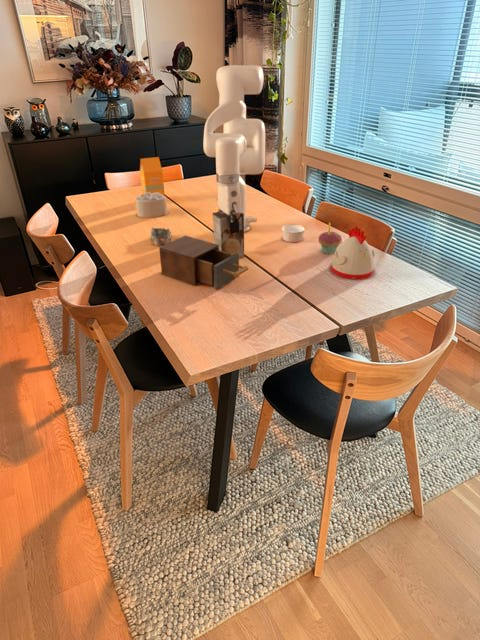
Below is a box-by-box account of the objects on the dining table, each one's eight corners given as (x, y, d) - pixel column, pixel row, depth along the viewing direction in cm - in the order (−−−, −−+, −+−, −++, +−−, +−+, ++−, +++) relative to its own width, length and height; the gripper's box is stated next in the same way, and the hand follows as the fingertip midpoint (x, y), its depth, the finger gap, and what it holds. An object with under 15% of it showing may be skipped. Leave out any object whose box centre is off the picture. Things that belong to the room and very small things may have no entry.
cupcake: (335, 257, 163) (338, 225, 157) (313, 252, 167) (315, 220, 161) (343, 249, 170) (347, 218, 163) (322, 244, 173) (325, 214, 167)
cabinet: (219, 271, 154) (218, 244, 149) (195, 285, 146) (193, 257, 140) (186, 261, 161) (185, 235, 156) (161, 274, 153) (159, 247, 148)
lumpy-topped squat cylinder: (169, 214, 204) (168, 194, 200) (142, 219, 199) (139, 199, 194) (160, 207, 212) (159, 189, 207) (133, 212, 206) (131, 193, 202)
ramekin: (276, 239, 179) (277, 228, 176) (290, 233, 184) (291, 222, 182) (294, 245, 173) (295, 234, 171) (308, 238, 179) (309, 227, 177)
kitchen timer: (346, 282, 147) (352, 238, 139) (323, 265, 158) (327, 223, 150) (381, 274, 152) (389, 231, 144) (356, 259, 162) (362, 218, 154)
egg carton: (171, 245, 174) (170, 235, 172) (151, 246, 173) (150, 236, 171) (171, 234, 183) (170, 225, 181) (152, 235, 182) (151, 226, 180)
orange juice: (143, 199, 223) (138, 157, 212) (160, 197, 226) (156, 155, 216) (147, 204, 217) (142, 160, 206) (165, 201, 220) (161, 158, 209)
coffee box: (236, 250, 169) (236, 208, 161) (244, 257, 164) (244, 213, 156) (214, 255, 165) (212, 212, 157) (221, 262, 161) (220, 217, 152)
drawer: (253, 280, 146) (253, 258, 142) (231, 294, 138) (231, 271, 134) (206, 266, 156) (205, 244, 152) (184, 278, 148) (182, 256, 144)
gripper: (249, 183, 145) (249, 234, 154) (228, 171, 158) (228, 219, 167) (227, 185, 142) (228, 238, 151) (207, 173, 156) (209, 222, 164)
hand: (228, 228), depth 159 cm, fingers open, 9 cm apart
